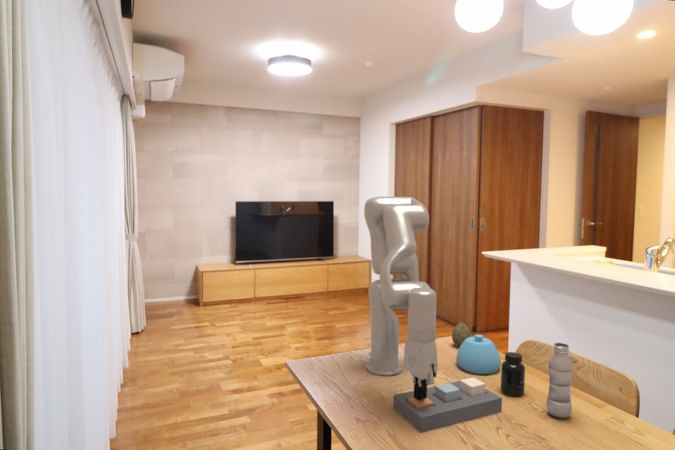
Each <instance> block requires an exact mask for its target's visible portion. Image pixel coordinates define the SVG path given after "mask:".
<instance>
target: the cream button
mask: <svg viewBox="0 0 675 450" xmlns="http://www.w3.org/2000/svg"><path fill="white" fill-rule="evenodd" d="M459 381H460V390H461V391H462V392H464V393H466V394H467V395H469V396H470V397H473V396H478V395H482V394H485V389H486V383H484V382H483V381H482V380H479V379H477V378H475V377H469V378H465V379H461V380H459Z"/></svg>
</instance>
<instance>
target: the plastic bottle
mask: <svg viewBox="0 0 675 450" xmlns="http://www.w3.org/2000/svg"><path fill="white" fill-rule="evenodd" d="M569 349H570V347H569V345H568V344H566V343H563V342H555V343H554V344H553V352H554V353H552V355H551V356H550V357H549V359H548V362H547V366H548V376H549V380H548V382H549V385H548V386H549V387H548V395H547V398H546V402H545V407H546V411H547V412H548V414H549V415H551V416H553V417H555V418H559V419H565V418H566V419H567V418H569V417H570V416H571V415H572V410H573V406H572V405H573V404H572V400H571V399H572V398H571V386H572V376H573V372H574V363H573V361H572V359H571V357H570V356H569V354H570V351H569Z"/></svg>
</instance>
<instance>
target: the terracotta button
mask: <svg viewBox="0 0 675 450" xmlns="http://www.w3.org/2000/svg"><path fill="white" fill-rule="evenodd" d="M408 402H409V403H410V404H411V405H413V406H414V407H415V408H416V409H422V408H426V407H431V406H434V402H432V401H431V400H429V399H428V398H426V399H422V400H417V399H415V398H414V397H412V398H408Z"/></svg>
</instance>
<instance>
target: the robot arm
mask: <svg viewBox="0 0 675 450" xmlns="http://www.w3.org/2000/svg"><path fill="white" fill-rule="evenodd" d="M363 212H364V220H365V223H366V226H367V229H368V233H369V236H370V254H371V256H370V257H371V268H372V271H373V273H374V274H376V275H379V279H376V280H373V281H372V282H371V283H370V284H369V286H368V297H369V304H370V306H369V307H370V352H368V356H370V361H368V362H367V364H366V370H367V371H368V372H369V373H371V374H374V375H377V376H383V377H385V376H387V377H389V376H396V375H398V374H400V373H402V372H403V368H404V369H405V370H406V371H407V372H408V373H410V374H411V376H412V383H413V391H414V398H415V399H417V400H422V399H426V398H427V388H428V386H431V385H434V384H435V379H434V378H436V377H437V374H438V352H437V351H438V350H437V344H436V336H437V335H436V333H437V330H436V329H437V293H436V291H435V290H434V289H432V288H431V287H430V285H429V284H428V283H426V282H425V281H420V279H419V278H420V277H419V276H420V275H419V262H418V261H419V260H418V257H417V252H418V251H417V250H418V245H417V242H416V236H415V233H414V232H422V231H425V230H427V229H428V227H429V223H430V214H429V212H428V210H427V208H426V207H425V205H424V204H423V203H422V202H420V201H419V200H417V199H416V198H415V197H411V196H375V197H371V198H368V200H366V202H365V204H364V209H363ZM393 275H394V276H399V275H402V277H403V278H392V277H391V276H393ZM402 309H404V310H405V309H407V335H406V338H405V343H404V351H403V364H402V363H401V362H399V330H400V328H399V327H400V326H399V325H400V321H399V317H398V316H397V314H396V313H395V311H393V310H402Z"/></svg>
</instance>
